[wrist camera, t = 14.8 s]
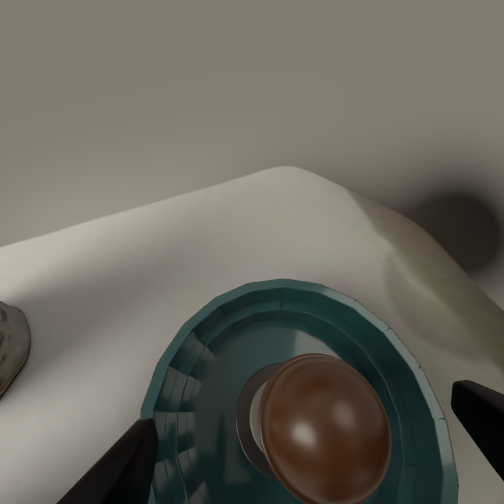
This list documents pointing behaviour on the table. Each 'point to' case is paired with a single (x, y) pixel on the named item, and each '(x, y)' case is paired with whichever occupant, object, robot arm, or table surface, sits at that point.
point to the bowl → (279, 351)
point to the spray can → (12, 343)
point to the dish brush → (315, 429)
